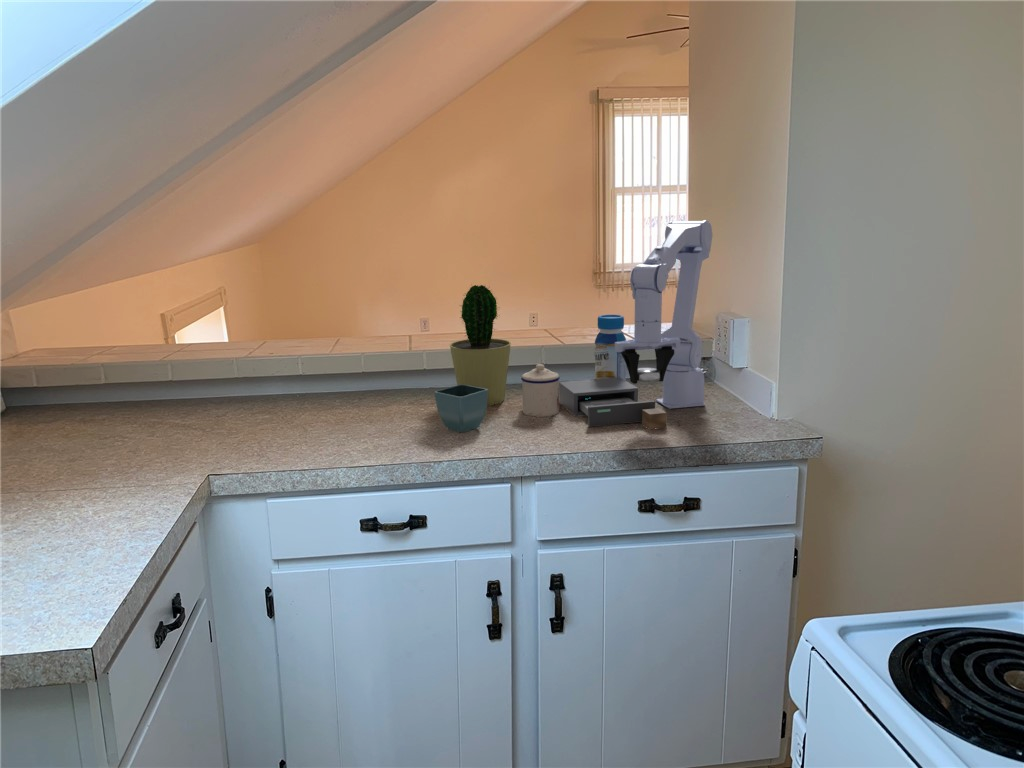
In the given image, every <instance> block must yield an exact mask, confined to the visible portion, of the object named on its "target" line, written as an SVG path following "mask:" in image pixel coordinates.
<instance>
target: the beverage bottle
mask: <svg viewBox="0 0 1024 768" xmlns="http://www.w3.org/2000/svg"><path fill="white" fill-rule="evenodd" d="M624 326H625V317H624V316H623V315H621V314H601V315H598V317H597V329H598V330H600V331H599V332H598V333H597V335H596V337H595V339H594V344H595V348H594V352H593V354H594V379H604V378H616V377H620V378H622V379H624V380H625V381H627V365H626V363H625V360H624V358H623V356H622V355H621V352H617V351H615V342H620V341H627V338H626V336H625V333H623V330H624Z"/></svg>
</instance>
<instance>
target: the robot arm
mask: <svg viewBox="0 0 1024 768" xmlns="http://www.w3.org/2000/svg"><path fill="white" fill-rule="evenodd" d="M664 231H665V232H664V241H663V243H662V245H657V246H655V247H654V248H653V250H652V251H651V252H650V254H649V255H648V256H647V257H646V259H645V260H644V261H643V263H642V264H641V263H640V264H637V265H636V266H634V267H633V268H632V270H631V273H630V279H629V283H630V288H631V291H632V292H631V293H632V294H631V296H632V299H633V300H634V333H633V334H634V335H633V336H634V337H633V339H626V341H620V342H615V351H617V352H621V355H622V356H623V358H624V360H625V363H626V369H627V371H628V375H629V381H630V382H631V384H633V385H635V384H638V369H639V367H638V366H639V361H640V356H641V355H640V354H639V353H637V351H642V350H643V351H644V350H654V352H655V360H656V364H655V365H656V368H655V369H659V370H660V380H658V381H659V382H662V398H656V400H655V402H657V403H659V404H660V405H663V406H664V407H665V408H668V409H681V408H682V409H683V408H692V407H694V408H695V407H702V406H706V403H705V402H704V401H705V374H704V371H703V369H702V368H700V367H699V366H700V364H701V361H702V356H703V349H702V347H703V346H702V345H703V341H702V337H701V336H700V335H699V334H698V333H697V332H696V331H695V330H694V329H693V324H694V317H695V309H696V305H697V297H698V296H697V295H698V290H699V283H700V282H699V281H700V278H701V277H700V275H701V269H702V266H703V261H704V260H707V259H708V258H709V257H710V253H711V248H712V242H713V227H712V224H711V223H710V220H707V219H704V220H683V221H682V220H679V221H678V220H676V221H675V220H670V221H668V223H667V224H666V227H665V230H664ZM677 260H678V261H679V262H680V268H679V273H678V280H677V281H678V282H677V287H676V293H675V301H674V306H673V307H674V308H673V315H672V319H671V320H672V322H671V326H670V327H669V328H667V329H665V331H663V332H662V310H663V309H662V307H663V292H664V290H665V289H666V287H667V284H668V283H667V281H668V279H669V274H670V272H671V270H672V269H673V268H674V266H675V265H676V262H677Z"/></svg>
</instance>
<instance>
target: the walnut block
mask: <svg viewBox="0 0 1024 768" xmlns="http://www.w3.org/2000/svg"><path fill="white" fill-rule="evenodd" d="M667 415H668V414H667V412H666V411H664V410H663V409H661V408H659V407H657V408H656V407H655V409H644V410H642V422H641V425H642V424H643V425H644V426H643V425H642V426H643V427H645V428H646V427H647V428H646V429H648V428H649V429H652V430H656V429H655V428H662V429H666V428H667V423H668V422H667V419H668V418H667V417H668V416H667ZM665 427H666V428H665ZM649 429H648V430H649Z"/></svg>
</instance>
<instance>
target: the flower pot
mask: <svg viewBox="0 0 1024 768" xmlns="http://www.w3.org/2000/svg"><path fill="white" fill-rule="evenodd" d="M433 395H434V398H435V403H436V404H435V405H436V409H437V412H438V415H439V417H440V420H441V422H442V423H443V425H444V426H445V427H446V428H447V429H448V430H451V431H455V432H458V433H461V434H462V433H466V432H469V431H472V430H476V429H477V428H479V427H480V425H481V424H482V422H483V420H484V419H485V416H486V412H487V408H488V406H487V397H488V389H485V388H479V387H474V386H469V385H463V384H461V385H457V384H456V385H454V386H450V387H445V388H442V389H439V390H435V391H434V393H433Z"/></svg>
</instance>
